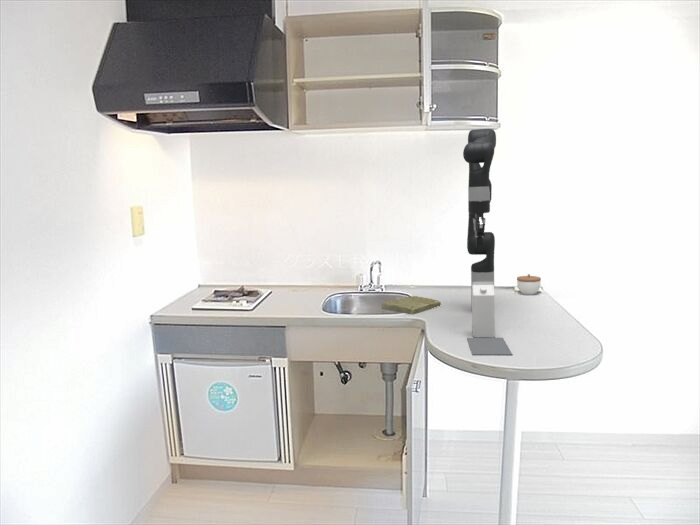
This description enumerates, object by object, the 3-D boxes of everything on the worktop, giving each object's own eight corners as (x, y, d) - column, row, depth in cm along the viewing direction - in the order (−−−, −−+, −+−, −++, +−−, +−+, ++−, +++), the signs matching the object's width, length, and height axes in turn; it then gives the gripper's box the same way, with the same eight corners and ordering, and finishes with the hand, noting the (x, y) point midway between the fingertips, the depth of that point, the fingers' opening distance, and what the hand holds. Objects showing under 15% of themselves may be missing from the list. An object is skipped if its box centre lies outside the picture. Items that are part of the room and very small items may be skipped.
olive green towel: (441, 307, 228) (441, 299, 227) (412, 315, 214) (412, 307, 213) (408, 301, 241) (408, 294, 240) (379, 309, 227) (379, 301, 227)
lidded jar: (519, 296, 241) (519, 276, 240) (515, 291, 252) (515, 272, 250) (543, 295, 240) (543, 276, 238) (537, 291, 250) (537, 272, 249)
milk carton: (472, 332, 185) (471, 280, 182) (492, 332, 183) (492, 279, 181) (473, 337, 178) (473, 283, 175) (494, 337, 176) (494, 283, 174)
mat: (467, 338, 177) (466, 337, 177) (502, 338, 175) (502, 337, 175) (472, 355, 159) (472, 354, 159) (512, 355, 158) (512, 354, 158)
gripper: (466, 199, 191) (467, 245, 193) (470, 200, 178) (470, 250, 180) (487, 198, 190) (487, 245, 192) (492, 199, 177) (492, 249, 179)
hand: (479, 247), depth 186 cm, fingers closed
